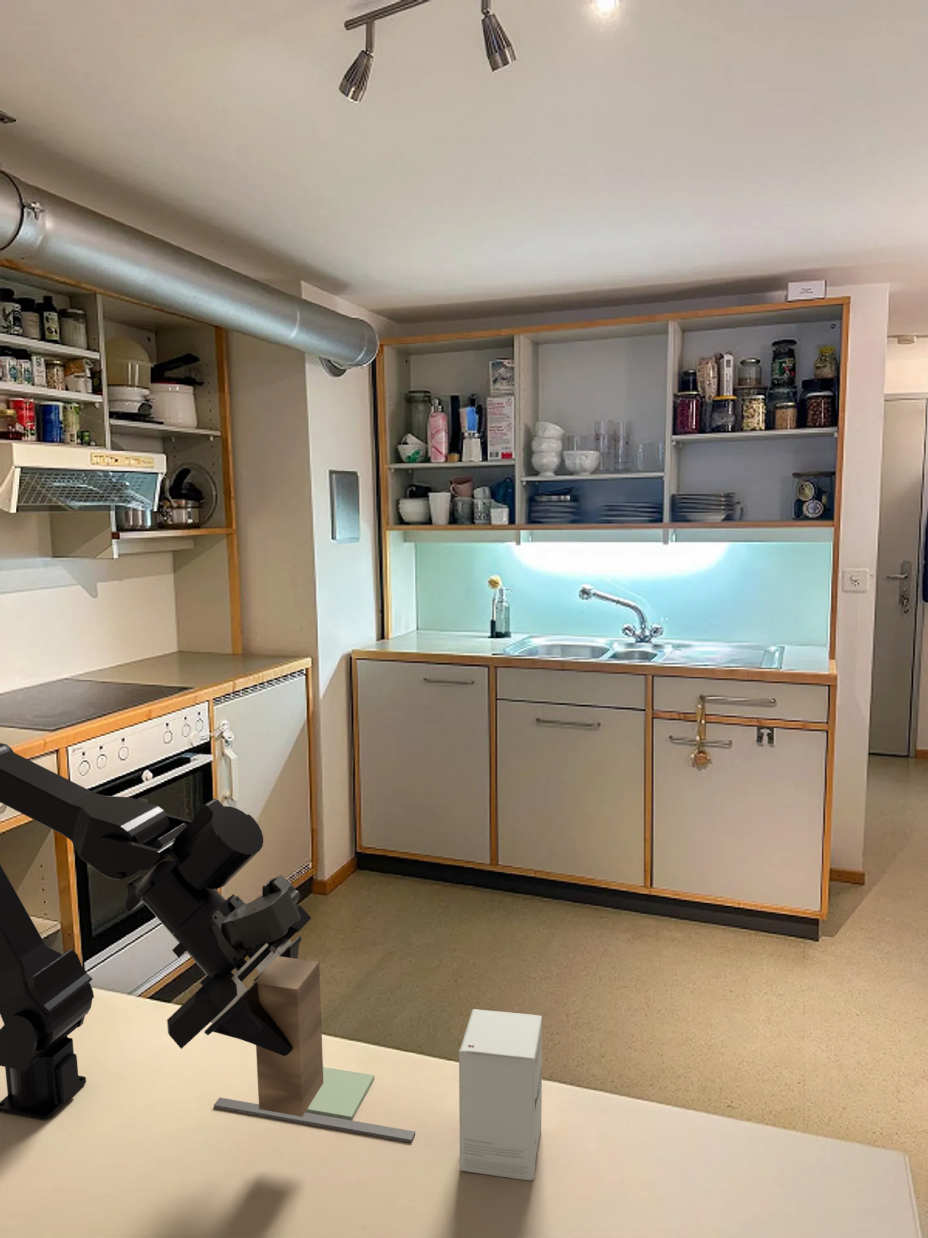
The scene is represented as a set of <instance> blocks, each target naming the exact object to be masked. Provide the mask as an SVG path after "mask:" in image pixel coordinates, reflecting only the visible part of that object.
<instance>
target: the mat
mask: <svg viewBox="0 0 928 1238" xmlns="http://www.w3.org/2000/svg"><path fill="white" fill-rule="evenodd" d="M374 1080H375V1074H370V1073H363V1072H356V1071H352V1070H351V1071H350V1070H344V1069H337V1068H331V1067H327V1066H326V1067H325V1066H323V1084H322V1086H321V1088H320V1089H319V1091H318V1093H317V1094H316V1096H315V1097H314V1099H313V1101H312V1102H311V1104H310V1105H309V1107H308V1109H307V1110H306V1113H312V1114H318V1115H323V1116H329V1117H335V1118H341V1119H346V1120H352V1121H353V1119H354V1117H355V1115H356V1114H357V1112H358V1110H359V1108H360V1106H361V1104H362V1102H363V1101H364V1098H365V1097H366V1095H367V1093H368V1091H369V1089H370V1088H371V1085H372V1084H373V1082H374Z"/></svg>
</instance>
